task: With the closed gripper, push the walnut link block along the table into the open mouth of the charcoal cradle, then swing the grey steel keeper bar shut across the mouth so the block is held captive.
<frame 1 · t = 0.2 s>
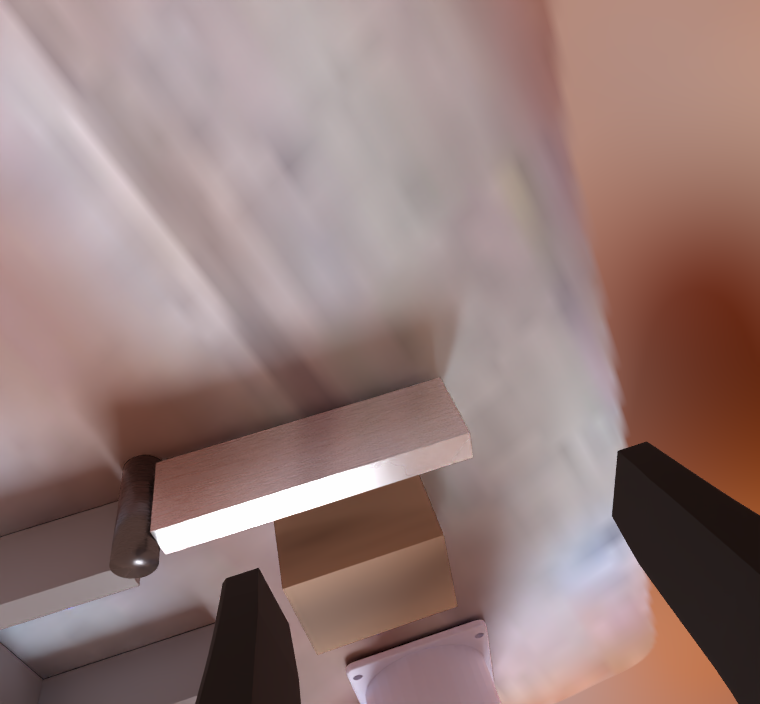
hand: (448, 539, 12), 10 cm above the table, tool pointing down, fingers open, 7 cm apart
keeper: (291, 466, 20), point 2 cm above the table, hinge at 90.0°
cradle: (102, 601, 25), on the table
link block: (354, 516, 26), on the table
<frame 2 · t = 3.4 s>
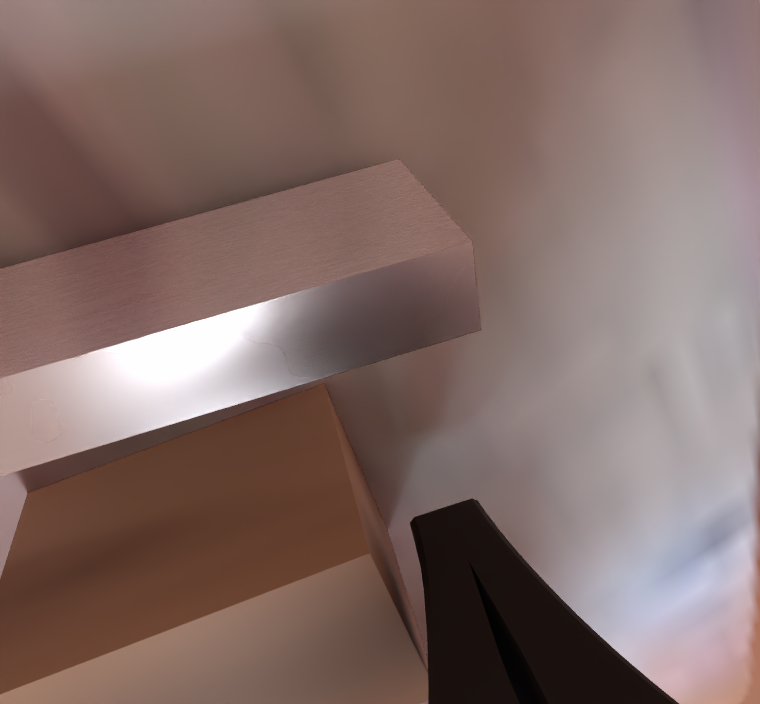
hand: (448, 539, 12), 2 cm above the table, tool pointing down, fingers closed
link block: (230, 513, 13), on the table, touching gripper
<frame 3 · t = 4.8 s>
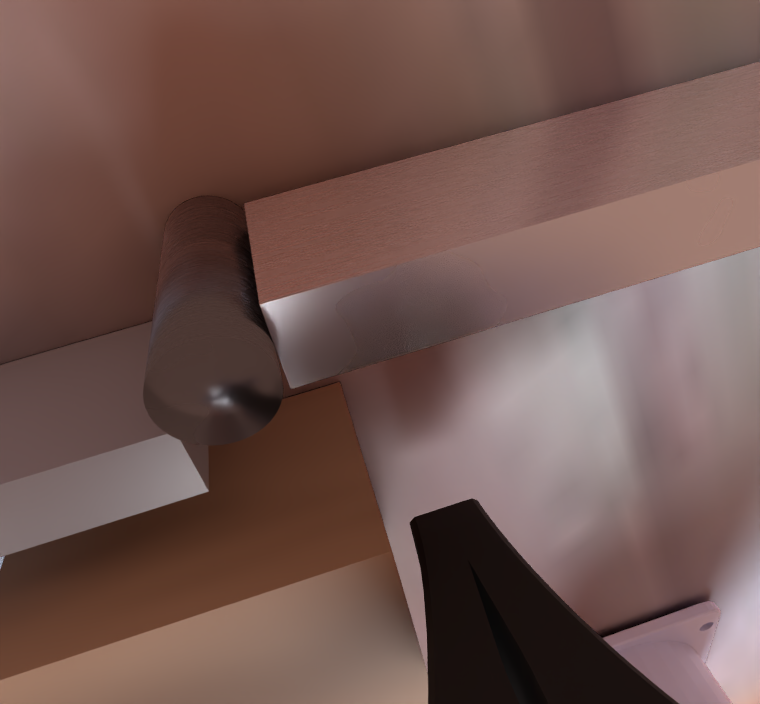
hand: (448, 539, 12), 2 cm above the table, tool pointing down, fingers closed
keeper: (581, 195, 8), point 2 cm above the table, hinge at 90.0°
cradle: (115, 556, 13), on the table
link block: (232, 509, 13), on the table, touching gripper
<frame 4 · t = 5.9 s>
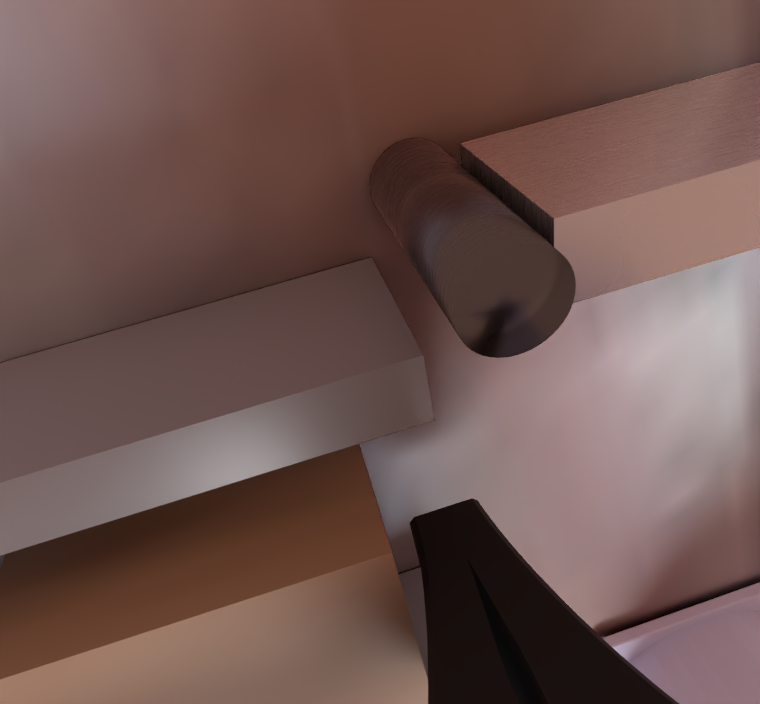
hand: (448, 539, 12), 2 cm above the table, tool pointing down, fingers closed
cradle: (263, 508, 13), on the table
link block: (231, 509, 13), on the table, touching gripper
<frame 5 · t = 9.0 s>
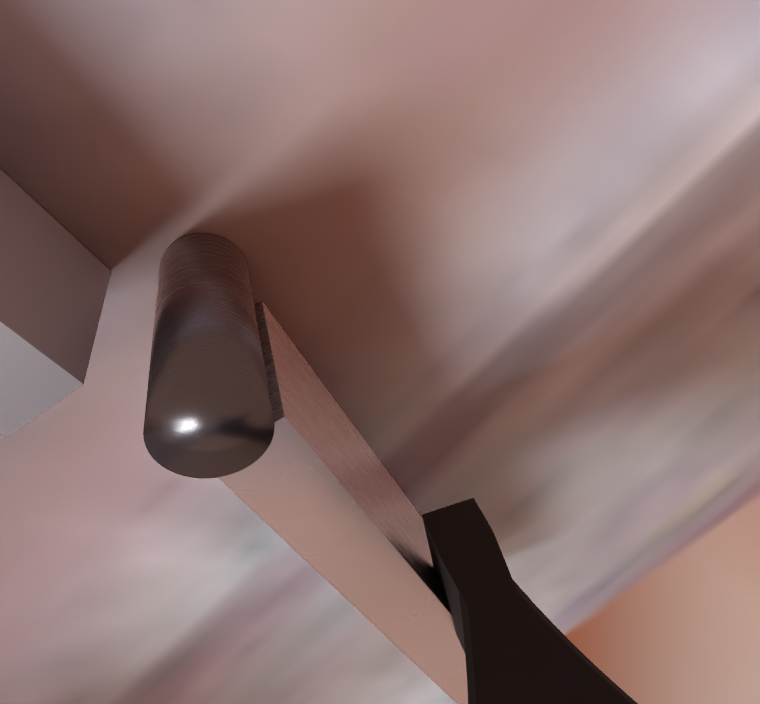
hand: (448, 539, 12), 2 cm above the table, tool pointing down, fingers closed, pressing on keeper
keeper: (369, 526, 11), point 2 cm above the table, hinge at 84.6°, touching gripper
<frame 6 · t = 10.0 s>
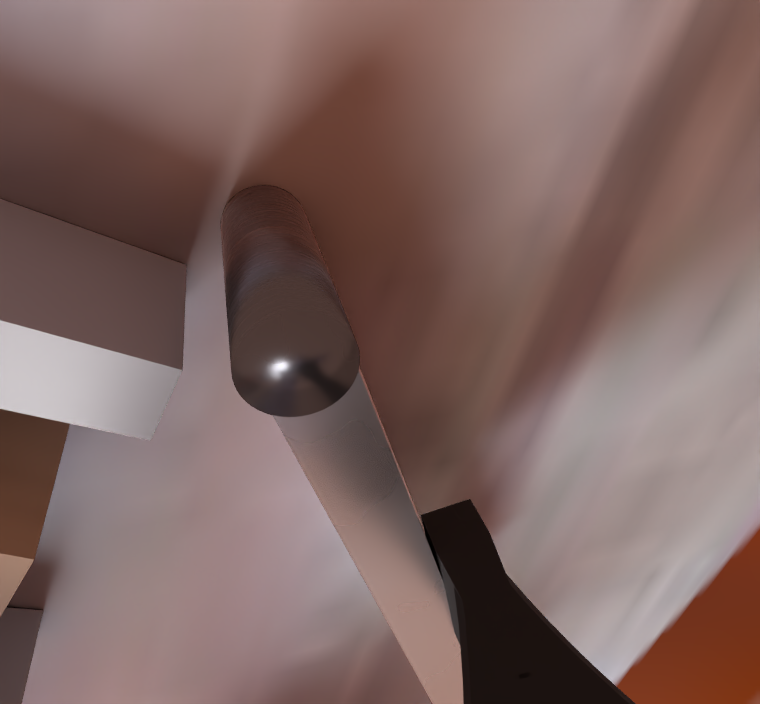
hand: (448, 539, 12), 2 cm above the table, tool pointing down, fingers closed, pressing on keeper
keeper: (381, 509, 11), point 2 cm above the table, hinge at 45.8°, touching gripper
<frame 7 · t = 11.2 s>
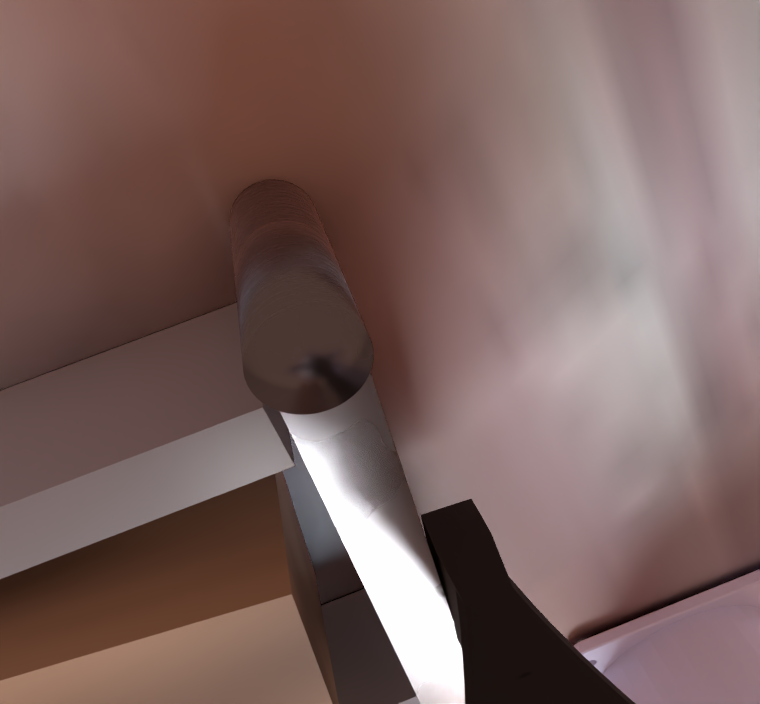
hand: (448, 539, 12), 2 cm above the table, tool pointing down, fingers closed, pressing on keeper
keeper: (380, 513, 11), point 2 cm above the table, hinge at -1.6°, touching cradle, gripper
cradle: (193, 543, 13), on the table
link block: (160, 539, 13), on the table
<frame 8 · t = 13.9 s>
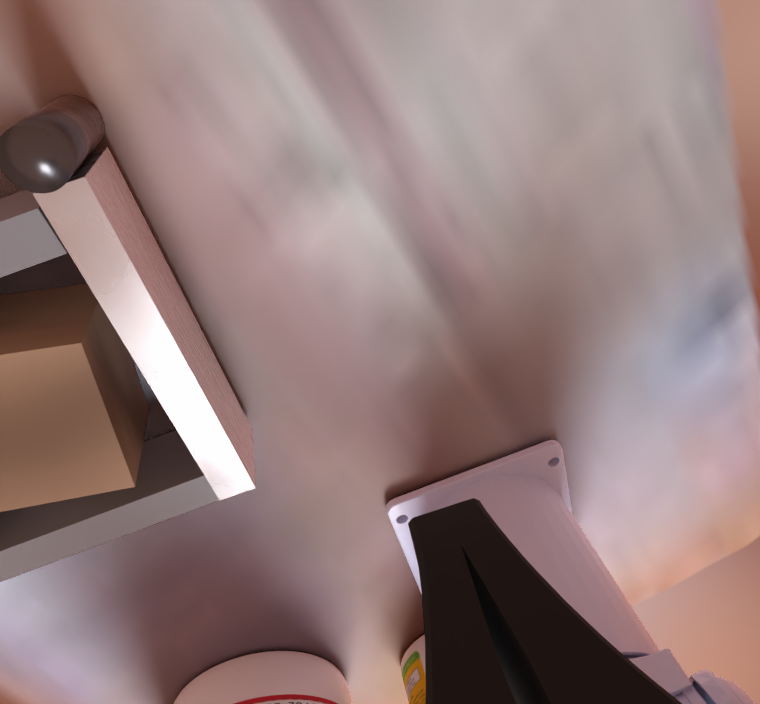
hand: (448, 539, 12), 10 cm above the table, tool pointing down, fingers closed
keeper: (157, 320, 17), point 2 cm above the table, hinge at -1.6°, touching cradle
fruit juice: (261, 696, 31), on the table
supplement bottle: (445, 647, 33), on the table
cradle: (55, 364, 19), on the table
link block: (33, 362, 19), on the table
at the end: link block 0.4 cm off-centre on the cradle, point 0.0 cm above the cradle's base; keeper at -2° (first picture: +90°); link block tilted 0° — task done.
